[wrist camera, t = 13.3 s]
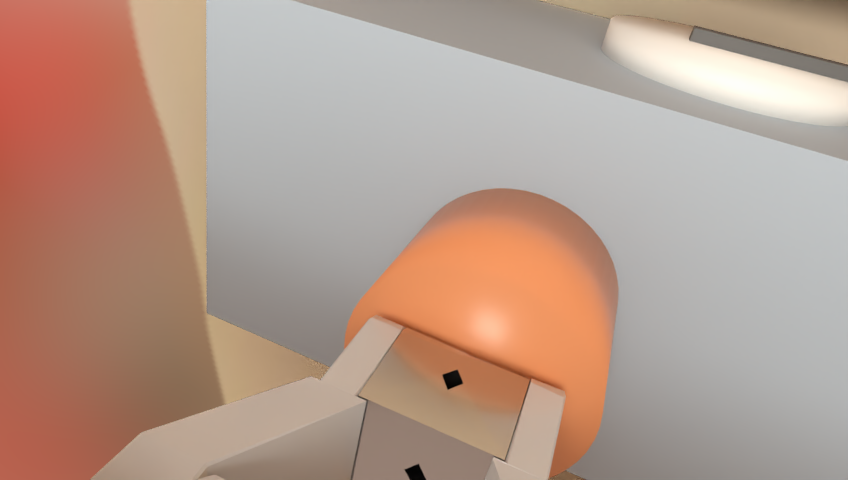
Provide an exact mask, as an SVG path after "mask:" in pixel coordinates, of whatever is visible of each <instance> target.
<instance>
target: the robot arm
mask: <svg viewBox="0 0 848 480" xmlns="http://www.w3.org/2000/svg"><path fill="white" fill-rule="evenodd" d="M565 399H566V395H565V391H563V390H561V389H558V388H555V387H553V386H550V385H548V384H545V383H542V382H540V381H537V380H534V379H532V378H531V380H530V378H527V377H525V376H522V375H520V374H517V373H515V372H512V371H510V370H507V369H505V368H502V367H500V366H497V365H495V364H492V363H490V362H487V361H485V360H482V359H480V358H477V357H475V356H472V355H470V354H467V353H465V352H463V351H461V350H458V349H456V348H454V347H451V346H449V345H447V344H444V343H442V342H440V341H438V340H435V339H433V338H431V337H428V336H426V335H424V334H421V333H419V332H417V331H414V330H412V329H410V328H408V327H406V328H405V327H404V326H402V325H399V324H397V323H395V322H392V321H390V320H388V319H385V318H383V317H381V316H378V315H375V316H373V317H371V318H370V319H368V321H367V322H366V323H365V324H364V326H363V327H362V328H361V329H360V331H359V332H358V333H357V334H356V336H355V337H354V338H353V339H352V341H351V342H350V343H349V344H348V346H347V347H346V348H345V349H344V351H343V352H342V353H341V354H340V356H339V357H338V358H337V359H336V361H335V362H334V363H333V364H332V366H331V367H330V368H329V369H328V371H327V372H326V373H325V374H324V376H323V377H322V378H321V379H320V380H319V379H316V378H314V377H311V376H310V377H307V378H304V379H301V380H298V381H295V382H292V383H289V384H286V385H283V386H280V387H277V388H274V389H271V390H268V391H265V392H262V393H259V394H256V395H253V396H250V397H247V398H244V399H241V400H238V401H235V402H232V403H229V404H226V405H223V406H220V407H217V408H214V409H211V410H208V411H205V412H202V413H199V414H196V415H193V416H190V417H187V418H184V419H181V420H178V421H175V422H172V423H169V424H166V425H163V426H160V427H157V428H154V429H151V430H148V431H145V432H142V433H140V434H139V435H138V436H137V437H136V438H135V439H134V440H133V441H131V442H130V443H129V444H128V445H127V446H126V447H125V448H124V449H123V450H122V451H120V452H119V453H118V454H117V455H116V456H115V457H114V458H113V459H112V460H111V461H110V462H109V463H107V465H105V466H104V467H103V468H102V469H101V470H100V471H99V472H98V473H97V474H96V475H94V476H93V477H92V478H91V479H90V480H548V478H549V473H550V469H551V464H552V459H553V455H554V450H555V446H556V441H557V436H558V432H559V427H560V422H561V418H562V413H563V408H564V404H565Z"/></svg>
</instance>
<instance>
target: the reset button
mask: <svg viewBox="0 0 848 480" xmlns="http://www.w3.org/2000/svg"><path fill="white" fill-rule="evenodd" d="M618 290H619V288H618V280H617V274H616V270H615V267H614V263H613V261H612V259H611V256H610V254H609V252H608V250H607V248H606V247H605V245H604V244H603V242H602V240H601V239H600V237H599V236H598V235H597V234H596V233H595V231H594V230H593V229H592V228H591V227H590V226H589V225H588V224H587V223H586V222H585V221H584V220H583V219H582V218H581V217H580V216H578V215H577V214H576V213H574V212H573V211H571V210H570V209H569V208H567V207H565V206H564V205H562V204H560V203H558V202H556V201H554V200H552V199H550V198H547V197H545V196H542V195H540V194H536V193H532V192H529V191H524V190H517V189H507V188H495V189H486V190H480V191H476V192H472V193H468V194H466V195H463V196H461V197H458V198H456V199H455V200H453V201H451V202H449V203H448V204H446V205H445V206H444V207H442V208H441V209H440V210H439V211H437V212H436V213H435V214H434V216H433V217H432V218H431V219H430V220H429V221H428V222H427V223H426V224H425V226H424V227H423V228H422V229H421V230H420V231H419V232H418V234H417V235H416V236H415V237H414V238H413V239H412V241H411V242H410V243H409V244H408V245H407V246H406V247H405V249H404V250H403V251H402V252H401V253H400V254H399V255H398V257H397V258H396V259H395V260H394V261H393V262H392V264H391V265H390V266H389V267H388V268H387V269H386V270H385V272H384V273H383V274H382V275H381V276H380V277H379V279H378V280H377V281H376V282H375V283H374V284H373V285H372V287H371V288H370V289H369V290H368V291H367V292H366V293H365V295H364V296H363V297H362V298H361V299H360V301H359V302H358V304H357V305H356V307H355V308H354V310H353V312H352V314H351V317H350V319H349V321H348V325H347V329H346V333H345V342H344V349H345V348H346V347H347V346H348V344H349V343H350V342H351V341H352V339H353V338H354V337H355V336H356V334H357V333H358V332H359V331H360V329H361V328H362V327H363V326H364V324H365V323H366V322H367V321H368V319H370V318H371V317H373V316H375V315H378V316H381V317H383V318H385V319H388V320H390V321H392V322H395V323H397V324H399V325H402V326H404V327H405V328H406V327H408V328H410V329H412V330H414V331H417V332H419V333H421V334H424V335H426V336H428V337H431V338H433V339H435V340H438V341H440V342H442V343H444V344H447V345H449V346H451V347H454V348H456V349H458V350H461V351H463V352H465V353H467V354H470V355H472V356H475V357H477V358H480V359H482V360H485V361H487V362H490V363H492V364H495V365H497V366H500V367H502V368H505V369H507V370H510V371H512V372H515V373H517V374H520V375H522V376H525V377H527V378H530V380H531V378H532V379H534V380H537V381H540V382H542V383H545V384H548V385H550V386H553V387H555V388H558V389H561V390H563V391H565V395H566V399H565V404H564V408H563V413H562V418H561V422H560V427H559V432H558V436H557V441H556V446H555V450H554V455H553V459H552V464H551V469H550V473H549V478H550V477H553V476H556V475H557V474H559V473H561V472H563V471H565V470H567V469H568V468H570V467H571V466H572V465H574V464H575V463H576V462H577V461H579V460H580V458H581V457H582V456H583V455H584V454H585V453H586V452H587V451H588V449H589V448H590V446H591V445H592V443H593V442H594V440H595V438H596V435H597V433H598V431H599V428H600V424H601V419H602V415H603V408H604V401H605V393H606V386H607V379H608V372H609V364H610V357H611V350H612V342H613V335H614V328H615V320H616V313H617V306H618Z"/></svg>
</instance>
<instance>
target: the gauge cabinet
mask: <svg viewBox="0 0 848 480" xmlns="http://www.w3.org/2000/svg"><path fill="white" fill-rule="evenodd" d="M206 63H207V313H208V314H210V315H212V316H215V317H217V318H219V319H222V320H224V321H226V322H228V323H231V324H233V325H235V326H237V327H240V328H242V329H244V330H247V331H249V332H251V333H253V334H256V335H258V336H260V337H262V338H265V339H267V340H269V341H272V342H274V343H276V344H278V345H281V346H283V347H285V348H288V349H290V350H292V351H294V352H297V353H299V354H301V355H303V356H306V357H308V358H310V359H313V360H315V361H317V362H319V363H322V364H324V365H326V366H329V367H331V366H332V364H333V363H334V362H335V361H336V359H337V358H338V357H339V356H340V354H341V353H342V352H343V351H344V342H345V333H346V329H347V325H348V321H349V319H350V317H351V314H352V312H353V310H354V308H355V307H356V305H357V304H358V302H359V301H360V299H361V298H362V297H363V296H364V295H365V293H366V292H367V291H368V290H369V289H370V288H371V287H372V285H373V284H374V283H375V282H376V281H377V280H378V279H379V277H380V276H381V275H382V274H383V273H384V272H385V270H386V269H387V268H388V267H389V266H390V265H391V264H392V262H393V261H394V260H395V259H396V258H397V257H398V255H399V254H400V253H401V252H402V251H403V250H404V249H405V247H406V246H407V245H408V244H409V243H410V242H411V241H412V239H413V238H414V237H415V236H416V235H417V234H418V232H419V231H420V230H421V229H422V228H423V227H424V226H425V224H426V223H427V222H428V221H429V220H430V219H431V218H432V217H433V216H434V214H435V213H436V212H437V211H439V210H440V209H441V208H442V207H444V206H445V205H446V204H448V203H449V202H451V201H453V200H455V199H456V198H458V197H461V196H463V195H466V194H468V193H472V192H476V191H480V190H486V189H495V188H507V189H517V190H524V191H529V192H532V193H536V194H540V195H542V196H545V197H547V198H550V199H552V200H554V201H556V202H558V203H560V204H562V205H564V206H565V207H567V208H569V209H570V210H571V211H573V212H574V213H576V214H577V215H578V216H580V217H581V218H582V219H583V220H584V221H585V222H586V223H587V224H588V225H589V226H590V227H591V228H592V229H593V230H594V231H595V233H596V234H597V235H598V236H599V237H600V239H601V240H602V242H603V244H604V245H605V247H606V248H607V250H608V252H609V254H610V256H611V259H612V261H613V263H614V267H615V270H616V274H617V280H618V288H619V290H618V306H617V313H616V320H615V328H614V335H613V342H612V350H611V357H610V364H609V372H608V379H607V386H606V393H605V401H604V408H603V415H602V419H601V424H600V428H599V431H598V433H597V435H596V438H595V440H594V442H593V443H592V445H591V446H590V448H589V449H588V451H587V452H586V453H585V454H584V455H583V456H582V457H581V458H580V460H579V461H577V462H576V463H575V464H574V465H572V466H571V467H570V468H568V469H567V470H565V471H568V472H570V473H572V474H574V475H577V476H579V477H581V478H583V479H586V480H848V65H847V64H843V63H839V62H835V61H831V60H827V59H823V58H819V57H815V56H811V55H807V54H804V53H800V52H796V51H792V50H788V49H784V48H780V47H776V46H772V45H768V44H764V43H761V42H757V41H753V40H749V39H745V38H741V37H737V36H733V35H729V34H725V33H721V32H717V31H714V30H710V29H706V28H702V27H698V26H689V25H685V24H680V23H675V22H670V21H665V20H659V19H653V18H647V17H639V16H628V15H617V16H613V17H611V19H607V18H604V17H600V16H596V15H592V14H588V13H584V12H581V11H577V10H573V9H569V8H565V7H562V6H558V5H554V4H550V3H546V2H542V1H539V0H206Z"/></svg>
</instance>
